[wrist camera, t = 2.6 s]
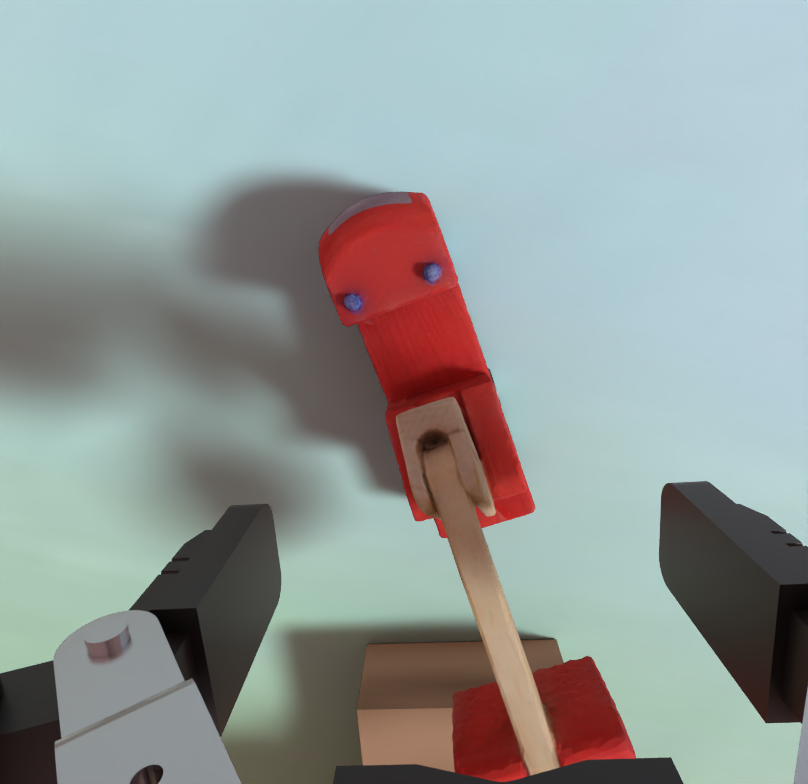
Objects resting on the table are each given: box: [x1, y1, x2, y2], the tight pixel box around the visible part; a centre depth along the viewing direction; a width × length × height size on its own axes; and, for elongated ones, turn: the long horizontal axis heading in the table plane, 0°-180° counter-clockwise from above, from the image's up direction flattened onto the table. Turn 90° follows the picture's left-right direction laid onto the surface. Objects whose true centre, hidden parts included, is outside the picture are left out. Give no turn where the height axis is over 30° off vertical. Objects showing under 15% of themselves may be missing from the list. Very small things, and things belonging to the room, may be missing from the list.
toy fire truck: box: [319, 192, 636, 782], centre depth 13 cm, size 3×14×10 cm, turn 20°
